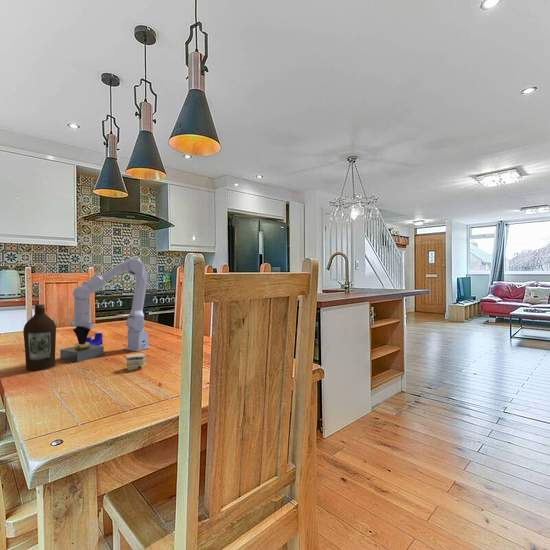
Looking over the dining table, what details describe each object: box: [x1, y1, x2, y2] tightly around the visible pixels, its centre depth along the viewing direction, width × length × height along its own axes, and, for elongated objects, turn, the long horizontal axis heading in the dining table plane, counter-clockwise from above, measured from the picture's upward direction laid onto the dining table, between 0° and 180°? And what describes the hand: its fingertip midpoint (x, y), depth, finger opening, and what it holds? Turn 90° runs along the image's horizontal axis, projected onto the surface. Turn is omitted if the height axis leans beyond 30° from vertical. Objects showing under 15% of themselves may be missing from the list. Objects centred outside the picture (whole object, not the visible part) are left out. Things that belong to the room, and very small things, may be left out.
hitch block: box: [59, 344, 105, 363], centre depth 145 cm, size 12×12×4 cm
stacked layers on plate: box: [125, 352, 147, 371], centre depth 128 cm, size 10×9×6 cm
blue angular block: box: [86, 332, 104, 346], centre depth 164 cm, size 12×4×6 cm, turn 1°
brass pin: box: [74, 342, 90, 350], centre depth 145 cm, size 6×6×6 cm
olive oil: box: [22, 303, 57, 372], centre depth 129 cm, size 11×11×25 cm
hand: (82, 343), depth 145 cm, fingers closed, pressing on brass pin
